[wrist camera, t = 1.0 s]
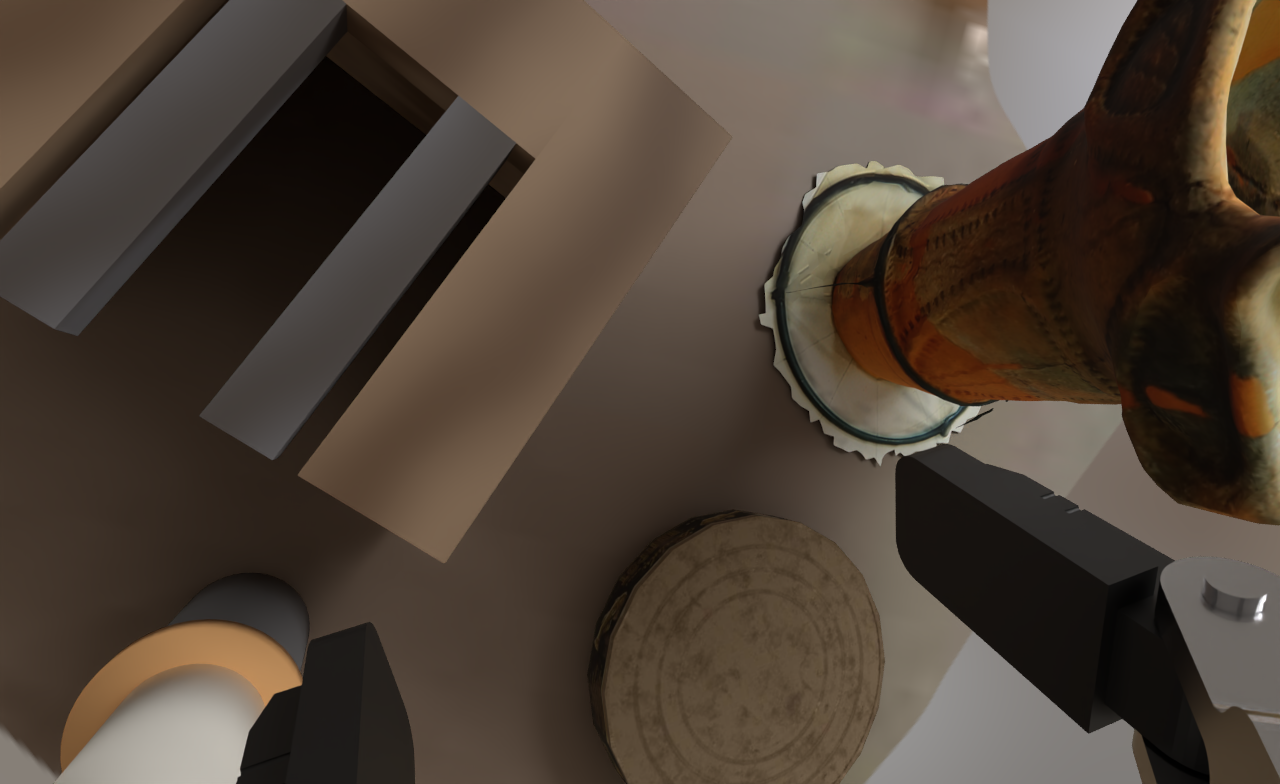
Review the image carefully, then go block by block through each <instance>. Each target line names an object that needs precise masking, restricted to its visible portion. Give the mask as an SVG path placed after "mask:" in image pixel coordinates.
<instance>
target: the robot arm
mask: <svg viewBox="0 0 1280 784" xmlns="http://www.w3.org/2000/svg"><path fill="white" fill-rule="evenodd" d="M895 481H896V543H897V548H898V552H899V555H900V558H901V560H902V562H903V564H904V566H905V567H906V569H907V571H908V572H909V573H910V575H911V576H912V577H913V578H914V579H915V580H916V581H917V582H918V583H920V584H921V585H922V586H923V587H924V588H925V589H926V590H927V591H929V592H930V593H931V594H932V595H933V596H934V597H935V598H936V599H938V600H939V601H940V602H941V603H942V604H943V605H944V606H945V607H947V608H948V609H949V610H950V611H951V612H952V613H953V614H954V615H956V616H957V617H958V618H959V619H960V620H961V621H962V622H963V623H965V624H966V625H967V626H968V627H969V628H970V629H971V630H972V631H974V632H975V633H976V634H977V635H978V636H979V637H980V638H982V639H983V640H984V641H985V642H986V643H987V644H988V645H989V646H991V647H992V648H993V649H994V650H995V651H996V652H997V653H998V654H999V655H1001V656H1002V657H1003V658H1004V659H1005V660H1006V661H1007V662H1008V663H1010V664H1011V665H1012V666H1013V667H1014V668H1015V669H1016V670H1017V671H1019V672H1020V673H1021V674H1022V675H1023V676H1024V677H1025V678H1026V679H1028V680H1029V681H1030V682H1031V683H1032V684H1033V685H1034V686H1036V687H1037V688H1038V689H1039V690H1040V691H1041V692H1042V693H1043V694H1044V695H1046V696H1047V697H1048V698H1049V699H1050V700H1051V701H1052V702H1053V703H1055V704H1056V705H1057V706H1058V707H1059V708H1060V709H1061V710H1062V711H1064V712H1065V713H1066V714H1067V715H1068V716H1069V717H1070V718H1071V719H1073V720H1074V721H1075V722H1076V723H1077V724H1078V725H1079V726H1080V727H1082V728H1083V729H1084V730H1085V731H1086V732H1087V733H1091V732H1093V731H1096V730H1098V729H1100V728H1103V727H1105V726H1107V725H1109V724H1112V723H1114V722H1116V721H1118V720H1120V719H1123V720H1125V721H1126V722H1127V723H1128V724H1130V725H1131V726H1132V727H1133V728H1134V734H1133V741H1132V747H1133V753H1134V757H1135V760H1136V763H1137V767H1138V770H1139V773H1140V777H1141V780H1142V784H1280V576H1278V575H1276V574H1274V573H1272V572H1270V571H1268V570H1266V569H1263V568H1260V567H1257V566H1254V565H1252V564H1249V563H1245V562H1241V561H1237V560H1232V559H1227V558H1218V557H1190V558H1184V559H1180V560H1177V561H1175V560H1173V559H1171V558H1169V557H1168V556H1166V555H1164V554H1162V553H1160V552H1159V551H1157V550H1155V549H1154V548H1151V547H1150V546H1148V545H1146V544H1145V543H1143V542H1141V541H1139V540H1138V539H1136V538H1134V537H1132V536H1131V535H1128V534H1127V533H1125V532H1124V531H1122V530H1120V529H1118V528H1117V527H1115V526H1113V525H1111V524H1109V523H1108V522H1106V521H1104V520H1102V519H1101V518H1099V517H1097V516H1095V515H1093V514H1092V513H1090V512H1088V511H1086V510H1082V511H1081V510H1079V507H1078V505H1076V504H1074V503H1072V502H1071V501H1069V500H1067V499H1065V498H1064V497H1062V496H1060V495H1058V496H1055V495H1054V492H1053V491H1051V490H1050V489H1048V488H1046V487H1044V486H1043V485H1041V484H1039V483H1037V482H1036V481H1034V480H1032V479H1030V478H1028V477H1027V476H1025V475H1023V474H1019V473H1016V472H1013V471H1009V470H1006V469H1003V468H999V467H996V466H992V465H989V464H984V463H982V462H980V461H979V460H977V459H975V458H974V457H972V456H970V455H969V454H967V453H965V452H963V451H962V450H960V449H958V448H957V447H955V446H953V445H950V444H942V445H939V446H936V447H933V448H930V449H926V450H923V451H920V452H917V453H914V454H910V455H907V456H904V457H902V458H900V460H899V461H898V463H897V465H896V473H895ZM240 772H241V776H239V777H238V778H237V783H236V784H415V767H414V748H413V740H412V734H411V729H410V724H409V720H408V716H407V712H406V709H405V706H404V703H403V700H402V698H401V695H400V692H399V690H398V687H397V684H396V682H395V679H394V676H393V674H392V671H391V668H390V666H389V663H388V660H387V658H386V655H385V652H384V650H383V647H382V644H381V642H380V639H379V636H378V634H377V631H376V629H375V627H374V626H373V624H372V623H371V622H368V623H365V624H361V625H358V626H355V627H352V628H349V629H345V630H342V631H339V632H336V633H333V634H329V635H326V636H323V637H320V638H317V639H313V640H311V641H310V643H309V646H308V651H307V657H306V663H305V669H304V675H303V681H302V685H300V686H297V687H294V688H291V689H288V690H285V691H282V692H279V693H275V694H274V695H273V696H272V698H271V699H270V701H269V702H268V704H267V705H266V707H265V708H264V710H263V711H262V713H261V714H260V716H259V717H258V719H257V720H256V722H255V723H254V725H253V726H252V727H251V729H250V730H249V733H248V737H247V741H246V745H245V749H244V754H243V758H242V762H241V766H240Z"/></svg>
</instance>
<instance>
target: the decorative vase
mask: <svg viewBox="0 0 1280 784" xmlns="http://www.w3.org/2000/svg"><path fill="white" fill-rule="evenodd" d="M802 203H803V207H804V215H803V222H802V225H801V226H800V227H799V228H798V229H797V230H796V231H794V232H793V233H792V234H791V235H790V236H789V237H788V239H787V241H786V242H785V244H784V246H783V249H782V253H781V258H780V260H779V262H778V264H777V265H776V267H775V269H774V274H773V277H772V278H771V279H770V280H768V281H767V282H766V283H765V284H764V286H765V303H766V313H764V314H759V317H760V322H761V325H764V326H767V327H770V328H773V331H774V337H775V344H776V354H775V359H774V364H773V365H774V366H775V367H776V368H777V369H778V370H779V371H780V372H781V374H782V375H783V376H784V378H785V379H786V380H787V382H788V383H789V384H790V386H791V392H792V398H793V399H794V400H795V401H796V402H797V403H798V404H799V405H800V406H801V407H803V408H805V409H807V410H808V411H809V415H810V423H811V422H814V421H816V420H820V423H821V425H822V428H823V432H824V434H827V435H831V436H834V445H835V446H837V447H839V448H841V449H843V450H845V451H847V452H852V451H855V450H857V451H859V452H860V453H861V454H862V455H863V456H864V457H865V459H866V460H867V459H870V458H875V459H876V461H877V462H878V463H879V465H880V466H881V463H882V458H883V457H884V456H885V454H886V453H888V452H890V451H892V450H895V454H896V455H898V454H899V453H902V454H903V455H904V456H907V455H910V454H912V453H914V452H916V451H923V450H926V449H930V448H933V447H936V443H948V442H949V438H950V435H951V431H956V432H961V430H962V428H963V426H964V425H965V424H967V423H969V422H972V421H975V420H977V419H979V418H980V417H981V416H983V415H985V414H987V413H989V412H991V411H993V409H991V410H989V411H987V412H984V413H982V414H980V415H978V416H977V414H978V412H979V410H980V407H981V406H983V405H987V404H990V403H993V402H996V401H999V400H1006V402H1007V401H1008V400H1015V401H1068V402H1074V403H1079V404H1122V418H1123V421H1124V424H1125V427H1126V430H1127V432H1128V435H1129V437H1130V440H1131V442H1132V444H1133V447H1134V449H1135V452H1136V454H1137V456H1138V459H1139V461H1140V463H1141V465H1142V467H1143V468H1144V470H1145V471H1146V473H1147V474H1148V475H1149V476H1150V477H1151V478H1152V480H1153V481H1154V482H1155V483H1156V485H1157V486H1159V487H1160V488H1161V489H1162V490H1163V491H1164V492H1165V493H1167V494H1168V495H1169V496H1170V497H1171V498H1172V499H1174V500H1175V501H1176V502H1177V503H1179V504H1182V505H1186V506H1190V507H1194V508H1198V509H1202V510H1206V511H1210V512H1214V513H1217V514H1221V515H1226V516H1229V517H1233V518H1238V519H1242V520H1246V521H1250V522H1254V523H1259V524H1270V525H1280V0H1137V2H1136V4H1135V6H1134V7H1133V9H1132V10H1131V12H1130V14H1129V15H1128V17H1127V19H1126V20H1125V22H1124V24H1123V26H1122V27H1121V30H1120V32H1119V34H1118V36H1117V38H1116V40H1115V42H1114V44H1113V46H1112V48H1111V50H1110V52H1109V54H1108V57H1107V58H1106V61H1105V63H1104V65H1103V67H1102V69H1101V71H1100V74H1099V76H1098V78H1097V81H1096V83H1095V85H1094V88H1093V90H1092V92H1091V94H1090V96H1089V98H1088V101H1087V103H1086V105H1085V107H1084V108H1083V109H1082V110H1081V111H1080V112H1078V113H1077V114H1076V115H1075V116H1073V117H1072V118H1071V119H1070V120H1068V121H1067V122H1066V123H1065V124H1064V125H1063V126H1062V127H1061V128H1060V129H1059V130H1058V131H1057V132H1056V133H1055V134H1054V135H1053V136H1052V137H1050V138H1048V139H1046V140H1045V141H1043V142H1041V143H1039V144H1038V145H1036V146H1034V147H1033V148H1031V149H1029V150H1027V151H1025V152H1023V153H1021V154H1019V155H1017V156H1015V157H1013V158H1012V159H1010V160H1008V161H1006V162H1004V163H1002V164H1001V165H999V166H998V167H996V168H995V169H993V170H991V171H990V172H988V173H986V174H985V175H983V176H981V177H980V178H978V179H976V180H975V181H973V182H972V183H970V184H955V185H944V180H943V178H941V177H933V176H931V177H915V175H914V174H913V173H912V172H911V171H910V170H909V169H908V168H905V167H903V166H901V165H896V166H892V167H888V168H885V167H883V166H882V165H881V164H879V163H878V162H876V161H872V162H869V165H868V167H867V169H866V168H864V167H862V166H860V165H858V164H850V165H843V166H838V167H836V168H835V169H833V170H832V171H830V172H824V173H817V183H816V188H814V189H813V190H811V191H810V192H808V193H806V194H805V197H804V199H803V202H802ZM975 416H976V417H975ZM972 417H975V418H973V419H972V420H970V421H968V422H966V420H967V419H969V418H972ZM965 422H966V423H965Z"/></svg>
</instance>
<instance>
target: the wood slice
mask: <svg viewBox="0 0 1280 784" xmlns="http://www.w3.org/2000/svg"><path fill="white" fill-rule="evenodd" d="M884 663H885V659H884V650H883V642H882V633H881V625H880V616H879V613H878V611H877V608H876V606H875V604H874V601H873V599H872V596H871V594H870V592H869V589H868V587H867V584H866V582H865V579H864V577H863V575H862V574H861V572H860V571H859V570H858V569H857V568H856V567H855V565H854V564H853V563H852V562H851V561H850V559H849V558H848V557H847V556H846V555H845V554H844V552H843V551H842V550H841V549H840V548H839V546H838V545H837V544H836V543H835V542H833V541H831V540H830V539H828V538H826V537H824V536H823V535H821V534H819V533H817V532H816V531H814V530H812V529H810V528H809V527H807V526H805V525H804V524H802V523H800V522H796V521H792V520H788V519H783V518H779V517H775V516H770V515H764V514H758V513H751V512H745V511H739V510H728V511H723V512H718V513H713V514H708V515H703V516H698V517H693V518H690V519H689V520H687V521H685V522H684V523H682V524H680V525H678V526H677V527H675V528H673V529H672V530H670V531H668V532H666V533H665V534H663V535H661V536H660V537H658V538H656V539H654V540H653V541H651V543H650V544H649V545H648V546H647V547H646V548H645V549H644V550H643V551H642V552H641V554H640V555H639V556H638V557H637V558H636V559H635V560H634V561H633V562H632V563H631V564H630V566H629V567H628V568H627V569H626V570H625V571H624V572H623V573H622V574H621V575H620V577H619V578H618V580H617V582H616V584H615V586H614V588H613V590H612V592H611V594H610V596H609V598H608V600H607V603H606V605H605V607H604V609H603V611H602V613H601V615H600V617H599V619H598V621H597V623H596V628H595V634H594V640H593V645H592V651H591V657H590V662H589V668H588V674H587V675H588V683H589V691H590V699H591V707H592V715H593V724H594V726H595V728H596V730H597V732H598V734H599V736H600V738H601V741H602V743H603V745H604V747H605V749H606V751H607V753H608V755H609V757H610V759H611V761H612V763H613V766H614V767H615V769H616V770H617V771H618V773H619V774H620V776H621V777H622V778H623V780H624V781H625V782H626V784H839V783H840V782H841V780H842V779H843V778H844V776H845V775H846V773H847V772H848V771H849V769H850V768H851V766H852V765H853V764H854V762H855V761H856V759H857V758H858V757H859V755H860V754H861V752H862V749H863V746H864V744H865V741H866V739H867V736H868V734H869V731H870V729H871V726H872V724H873V721H874V719H875V716H876V713H877V711H878V708H879V701H880V693H881V686H882V678H883V671H884Z"/></svg>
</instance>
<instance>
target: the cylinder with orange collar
mask: <svg viewBox="0 0 1280 784" xmlns="http://www.w3.org/2000/svg"><path fill="white" fill-rule="evenodd" d="M309 625H310V623H309V615H308V612H307V608H306V606H305V604H304V602H303V600H302V599H301V597H300V595H299V594H298V593H297V592H296V591H295V590H294V589H293V588H292V587H291V586H290V585H288V584H287V583H285V582H284V581H282V580H280V579H278V578H275V577H272V576H269V575H265V574H260V573H241V574H236V575H231V576H228V577H225V578H222V579H220V580H217V581H215V582H214V583H212V584H210V585H208V586H207V587H205V588H204V589H203V590H201V591H200V592H199V593H198V594H197V595H196V596H195V597H194V598H193V599H192V600H191V601H190V602H189V603H188V604H187V605H186V606H185V607H184V608H183V609H182V610H181V612H180V613H179V614H178V615H177V616H176V617H175V618H174V619H173V620H172V621H171V622H170V623H169V624H168V625H167V627H163V628H161V629H158V630H156V631H154V632H151V633H149V634H147V635H145V636H143V637H142V638H140V639H138V640H136V641H135V642H133V643H132V644H130V645H129V646H127V647H126V648H125V649H123V650H122V651H121V652H119V653H118V654H117V655H116V656H115V657H114V658H113V659H112V660H111V661H109V662H108V663H107V664H106V665H105V666H104V667H103V668H102V669H101V670H100V671H99V672H98V673H97V674H96V675H95V676H94V677H93V679H92V680H91V681H90V682H89V683H88V684H87V685H86V687H85V688H84V690H83V691H82V693H81V694H80V695H79V697H78V698H77V700H76V702H75V704H74V706H73V708H72V710H71V712H70V714H69V716H68V719H67V722H66V725H65V727H64V731H63V736H62V741H61V755H60V760H61V769H62V774H61V775H60V776H59V777H58V779H57V780H56V781H55V782H54V783H53V784H236V783H237V778H238V777H239V776H241V772H240V766H241V762H242V758H243V754H244V749H245V745H246V741H247V737H248V733H249V730H250V729H251V727H252V726H253V725H254V723H255V722H256V720H257V719H258V717H259V716H260V714H261V713H262V711H263V710H264V708H265V707H266V705H267V704H268V702H269V701H270V699H271V698H272V696H273V695H274V694H275V693H279V692H282V691H285V690H288V689H291V688H294V687H297V686H300V685H302V681H303V678H302V675H301V673H300V671H301V666H302V662H303V658H304V654H305V650H306V645H307V641H308V636H309Z"/></svg>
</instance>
